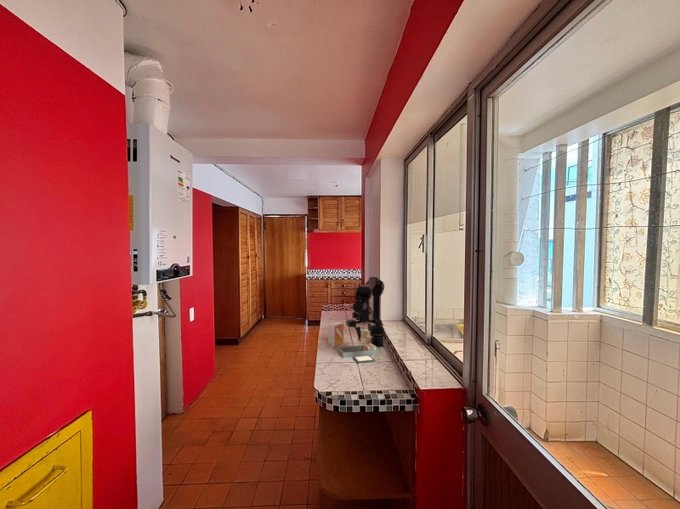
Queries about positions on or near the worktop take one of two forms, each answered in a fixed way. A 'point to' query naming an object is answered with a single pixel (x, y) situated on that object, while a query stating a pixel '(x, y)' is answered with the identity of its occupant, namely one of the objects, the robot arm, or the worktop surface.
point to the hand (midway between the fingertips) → (363, 338)
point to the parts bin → (357, 353)
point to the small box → (335, 333)
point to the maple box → (368, 347)
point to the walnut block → (364, 336)
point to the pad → (363, 359)
